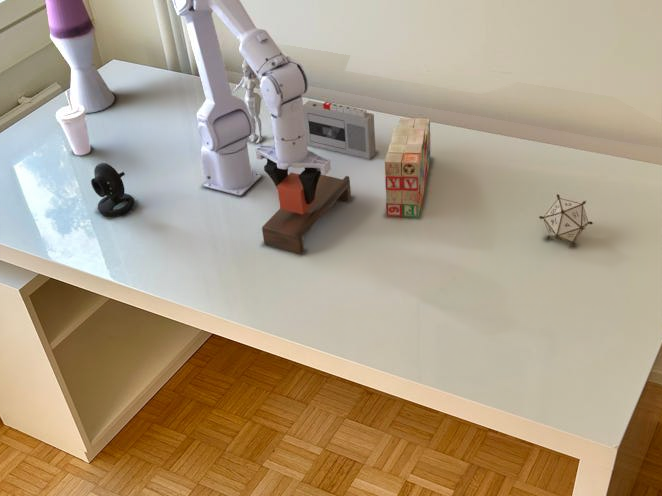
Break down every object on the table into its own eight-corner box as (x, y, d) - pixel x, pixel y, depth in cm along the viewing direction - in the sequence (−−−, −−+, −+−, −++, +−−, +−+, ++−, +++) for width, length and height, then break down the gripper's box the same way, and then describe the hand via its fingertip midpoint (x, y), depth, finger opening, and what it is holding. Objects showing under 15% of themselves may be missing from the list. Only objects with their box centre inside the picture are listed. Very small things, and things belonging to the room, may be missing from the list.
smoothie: (102, 147, 197) (85, 89, 187) (83, 161, 193) (64, 102, 183) (82, 141, 200) (64, 83, 190) (62, 154, 196) (43, 96, 186)
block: (280, 208, 163) (276, 185, 160) (293, 194, 166) (290, 172, 163) (303, 214, 161) (300, 191, 158) (316, 200, 164) (314, 177, 161)
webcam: (90, 209, 179) (77, 166, 172) (119, 192, 182) (107, 150, 175) (113, 222, 175) (101, 179, 168) (142, 205, 178) (131, 162, 171)
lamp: (63, 113, 210) (9, -62, 182) (79, 91, 218) (29, -80, 190) (105, 113, 208) (57, -64, 181) (120, 92, 216) (76, -81, 188)
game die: (561, 261, 160) (553, 244, 151) (535, 226, 163) (526, 207, 154) (604, 232, 158) (598, 213, 149) (577, 197, 161) (570, 176, 152)
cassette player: (306, 144, 190) (301, 101, 183) (312, 138, 192) (308, 96, 185) (369, 158, 184) (367, 115, 177) (375, 152, 185) (373, 109, 178)
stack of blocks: (400, 157, 183) (399, 103, 175) (430, 158, 182) (431, 104, 173) (386, 216, 168) (384, 160, 160) (418, 218, 167) (418, 161, 158)
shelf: (264, 244, 165) (260, 222, 162) (316, 189, 177) (313, 168, 174) (300, 254, 162) (298, 232, 158) (351, 198, 174) (349, 176, 170)
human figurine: (231, 137, 195) (218, 60, 183) (240, 129, 197) (228, 52, 185) (276, 148, 190) (266, 69, 178) (285, 140, 192) (276, 61, 180)
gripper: (242, 135, 154) (253, 201, 163) (314, 151, 148) (320, 218, 157) (263, 117, 158) (272, 181, 167) (334, 131, 152) (339, 197, 162)
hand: (297, 198), depth 163 cm, fingers closed on block, 5 cm apart
